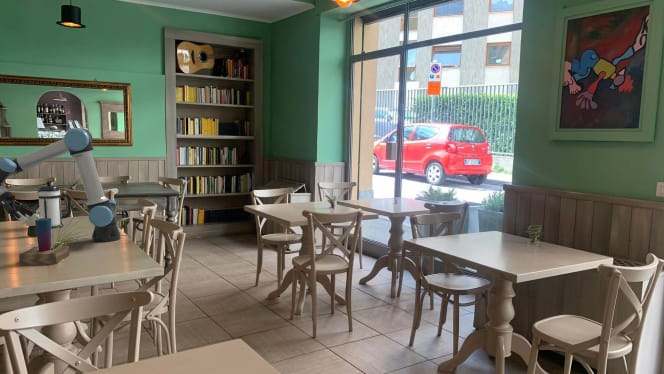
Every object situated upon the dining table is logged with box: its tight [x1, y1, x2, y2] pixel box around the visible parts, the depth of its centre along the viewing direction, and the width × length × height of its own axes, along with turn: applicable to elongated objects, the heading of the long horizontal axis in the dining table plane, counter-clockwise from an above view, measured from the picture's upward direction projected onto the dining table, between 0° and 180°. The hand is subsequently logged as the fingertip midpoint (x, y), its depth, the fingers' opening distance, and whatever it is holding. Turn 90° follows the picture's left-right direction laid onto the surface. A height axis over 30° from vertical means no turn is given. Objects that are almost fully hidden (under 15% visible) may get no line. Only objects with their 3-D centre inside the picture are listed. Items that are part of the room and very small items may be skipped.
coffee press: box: [35, 180, 72, 228], centre depth 327 cm, size 17×16×30 cm
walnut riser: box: [18, 245, 70, 266], centre depth 245 cm, size 16×16×5 cm
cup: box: [35, 218, 52, 251], centre depth 244 cm, size 7×7×15 cm
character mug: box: [23, 213, 43, 237], centre depth 299 cm, size 11×7×13 cm, turn 118°
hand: (33, 222), depth 258 cm, fingers open, 13 cm apart
